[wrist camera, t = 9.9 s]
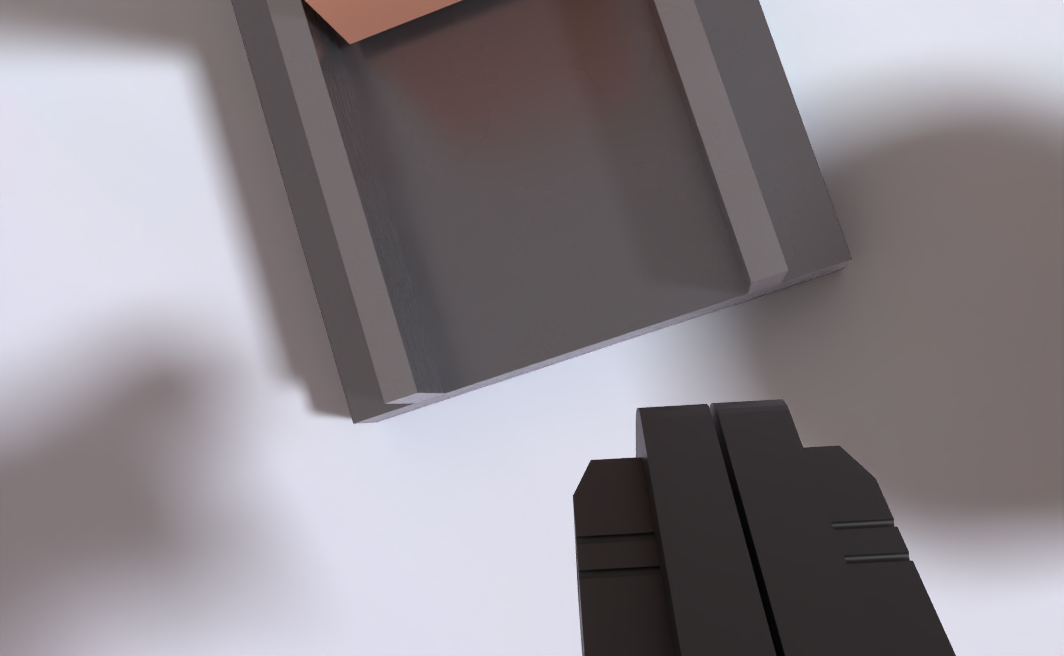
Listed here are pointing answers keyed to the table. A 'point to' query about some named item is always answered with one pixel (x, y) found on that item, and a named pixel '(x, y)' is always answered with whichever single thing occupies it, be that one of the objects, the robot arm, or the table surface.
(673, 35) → the rail base
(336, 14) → the salmon pink block
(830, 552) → the robot arm
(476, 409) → the table surface
